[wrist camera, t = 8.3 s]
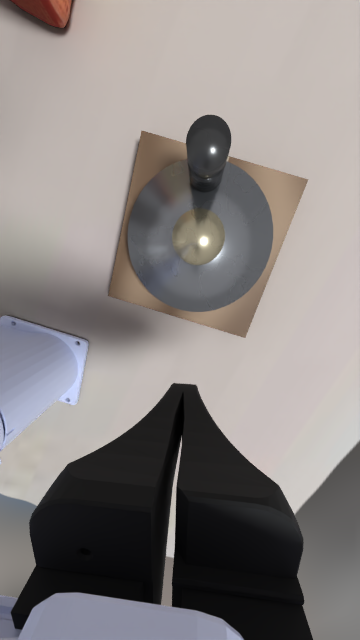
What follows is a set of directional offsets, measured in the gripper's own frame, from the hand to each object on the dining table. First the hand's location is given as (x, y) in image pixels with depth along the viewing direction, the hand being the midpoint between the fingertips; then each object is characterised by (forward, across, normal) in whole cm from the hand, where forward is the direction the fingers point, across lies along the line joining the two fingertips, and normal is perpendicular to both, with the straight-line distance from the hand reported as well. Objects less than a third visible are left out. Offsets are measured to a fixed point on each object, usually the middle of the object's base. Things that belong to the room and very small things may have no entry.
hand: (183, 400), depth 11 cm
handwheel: (+8, 0, -9) cm, 12 cm away
